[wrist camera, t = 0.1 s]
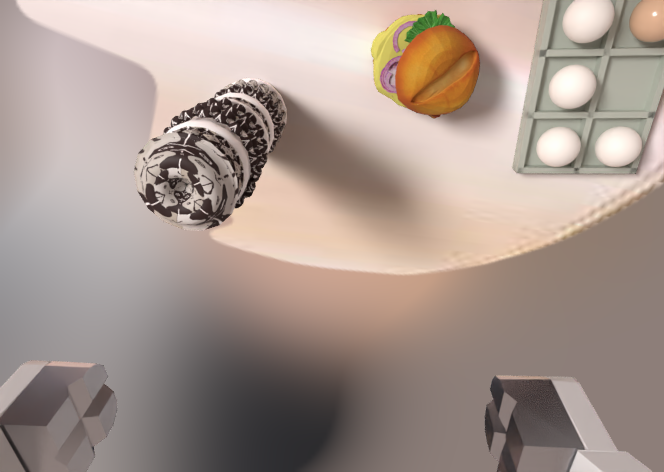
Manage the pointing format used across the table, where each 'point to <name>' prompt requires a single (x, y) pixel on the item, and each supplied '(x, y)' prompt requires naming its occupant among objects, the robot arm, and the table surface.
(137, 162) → the black white tall cylinder
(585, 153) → the egg carton
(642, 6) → the brown egg
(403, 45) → the cheeseburger
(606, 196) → the table surface
